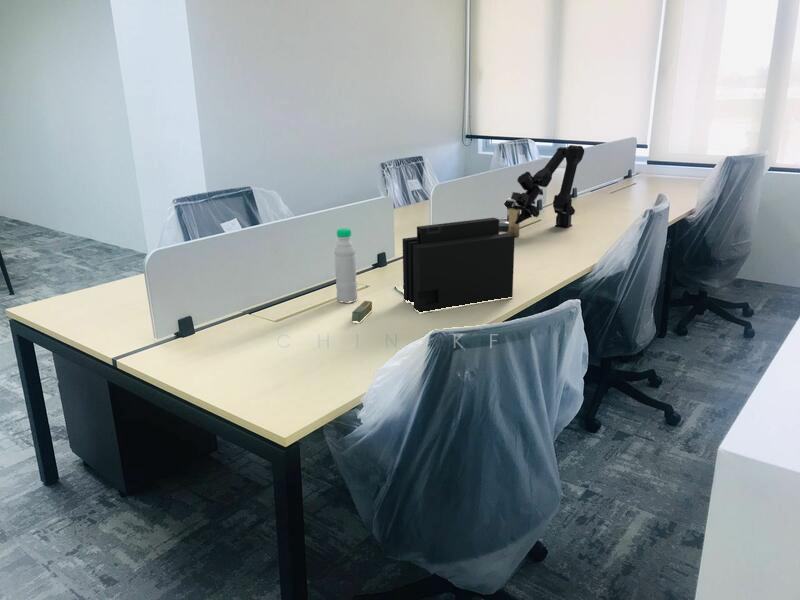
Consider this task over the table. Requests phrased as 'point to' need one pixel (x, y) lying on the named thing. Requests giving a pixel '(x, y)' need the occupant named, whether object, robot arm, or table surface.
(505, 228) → the turntable base
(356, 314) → the medication box
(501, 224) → the turntable platter
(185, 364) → the table surface
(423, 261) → the game console
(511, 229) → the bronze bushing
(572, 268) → the table surface
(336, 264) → the water bottle
